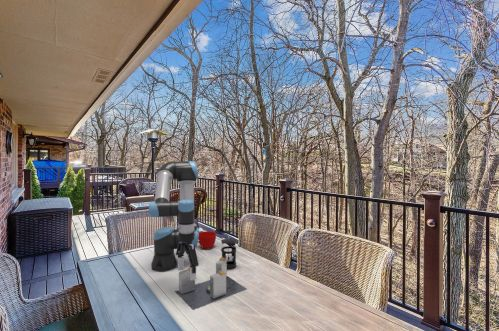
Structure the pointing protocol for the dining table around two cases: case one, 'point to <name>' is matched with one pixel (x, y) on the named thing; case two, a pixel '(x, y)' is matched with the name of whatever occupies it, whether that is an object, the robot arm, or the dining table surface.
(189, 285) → the orange and grey block
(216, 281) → the banded metal block
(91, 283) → the dining table surface
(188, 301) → the board
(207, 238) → the ceramic cup
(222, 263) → the white yellow slab
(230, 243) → the french press
